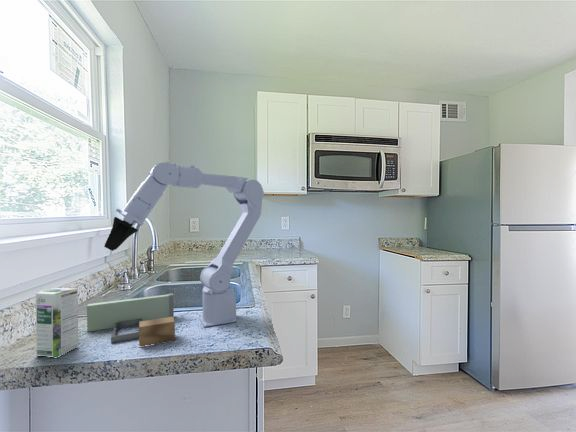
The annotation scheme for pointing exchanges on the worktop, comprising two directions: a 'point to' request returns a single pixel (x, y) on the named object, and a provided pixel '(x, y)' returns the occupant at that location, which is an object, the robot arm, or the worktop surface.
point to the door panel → (128, 311)
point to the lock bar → (156, 331)
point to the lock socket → (125, 337)
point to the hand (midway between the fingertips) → (110, 248)
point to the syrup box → (56, 321)
